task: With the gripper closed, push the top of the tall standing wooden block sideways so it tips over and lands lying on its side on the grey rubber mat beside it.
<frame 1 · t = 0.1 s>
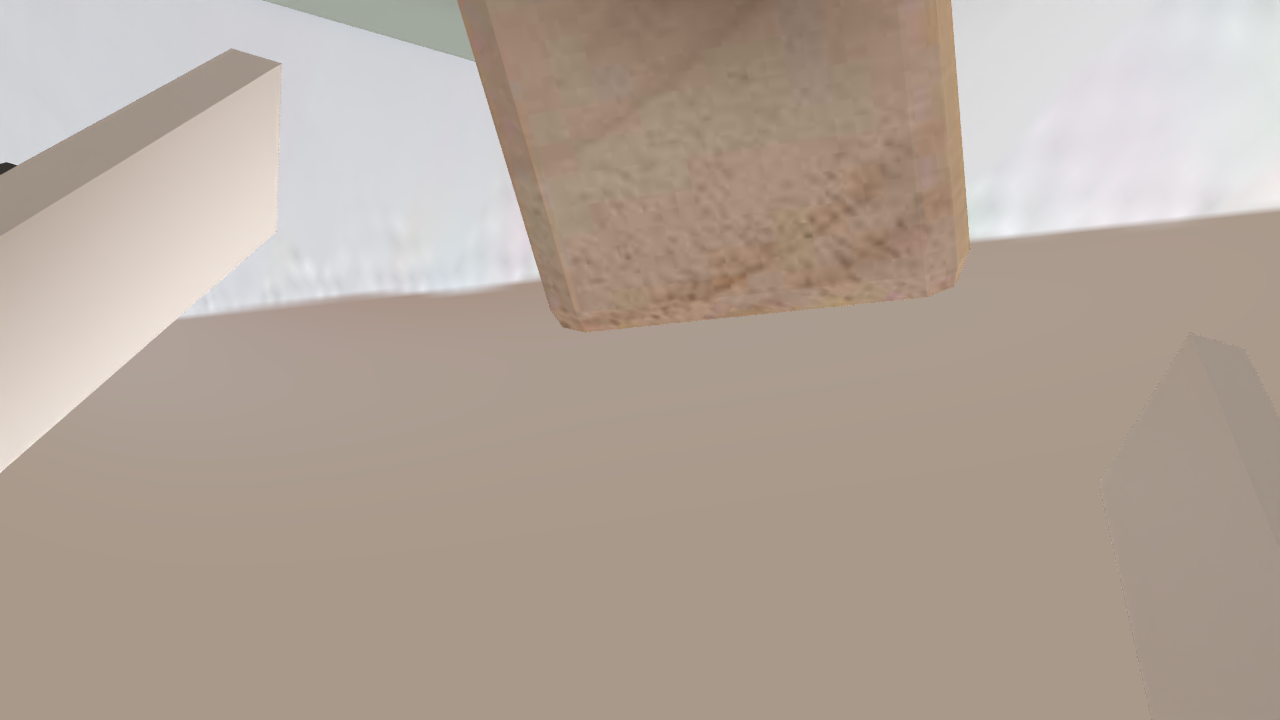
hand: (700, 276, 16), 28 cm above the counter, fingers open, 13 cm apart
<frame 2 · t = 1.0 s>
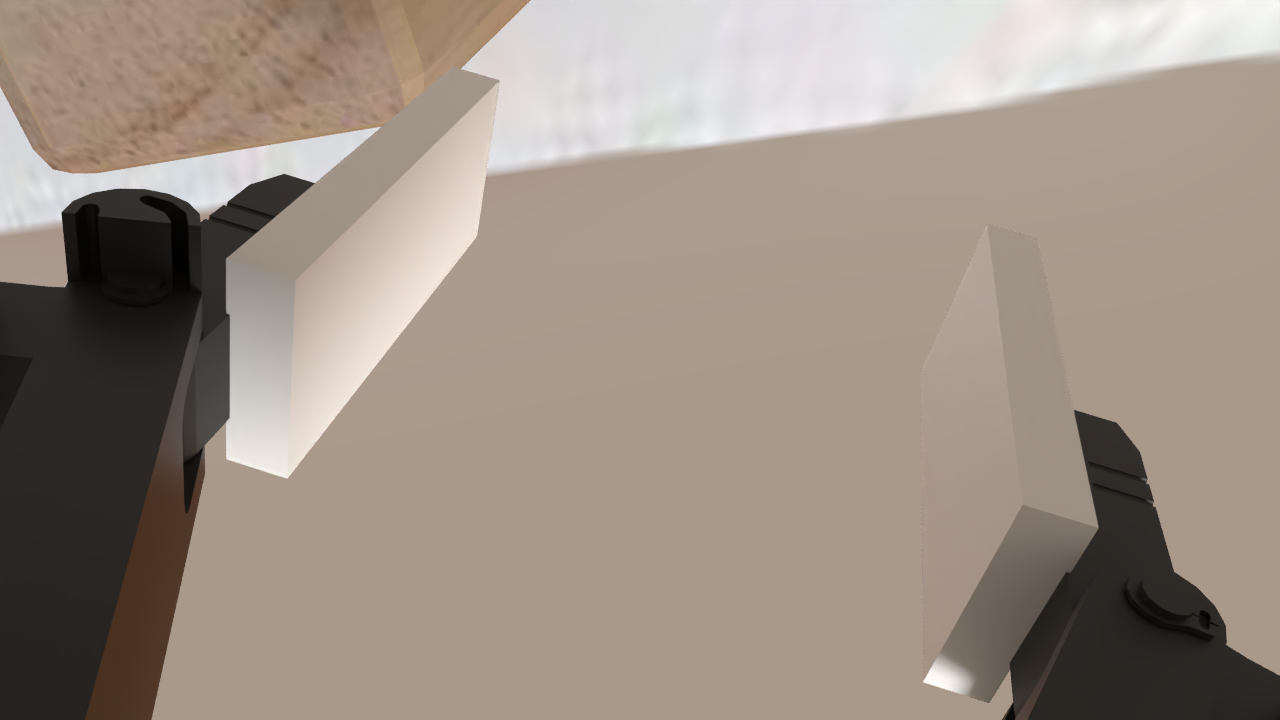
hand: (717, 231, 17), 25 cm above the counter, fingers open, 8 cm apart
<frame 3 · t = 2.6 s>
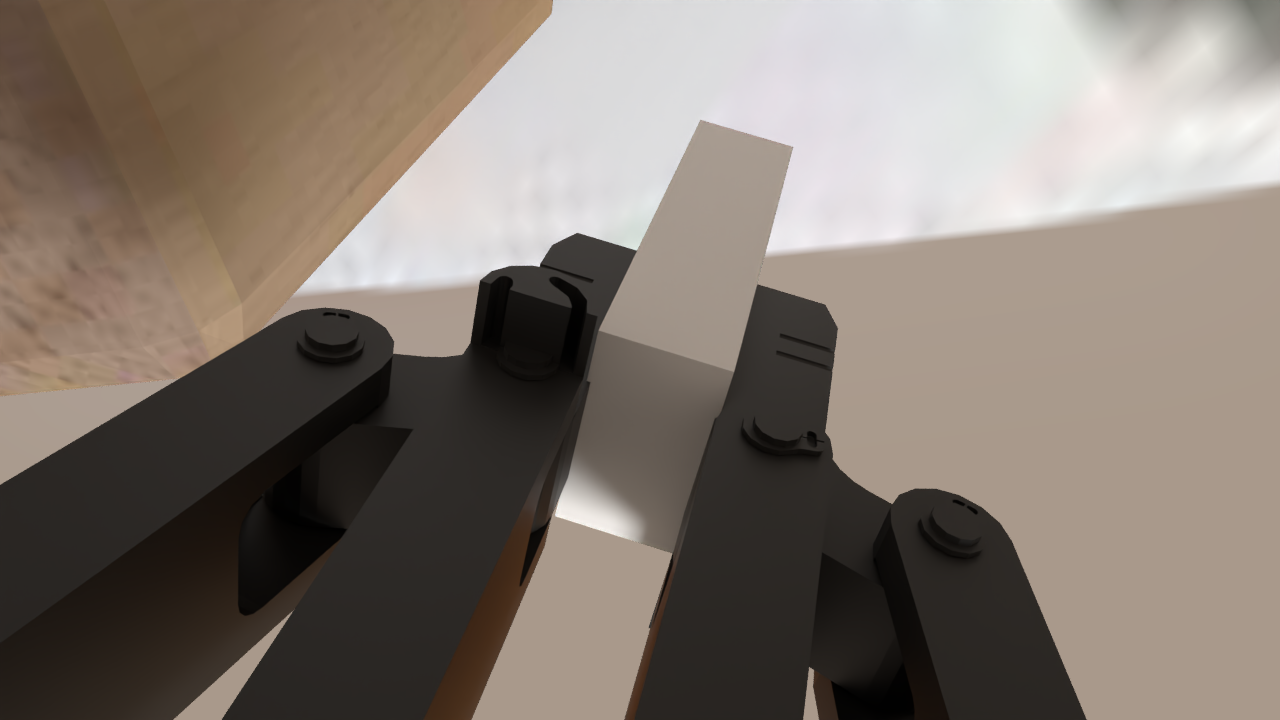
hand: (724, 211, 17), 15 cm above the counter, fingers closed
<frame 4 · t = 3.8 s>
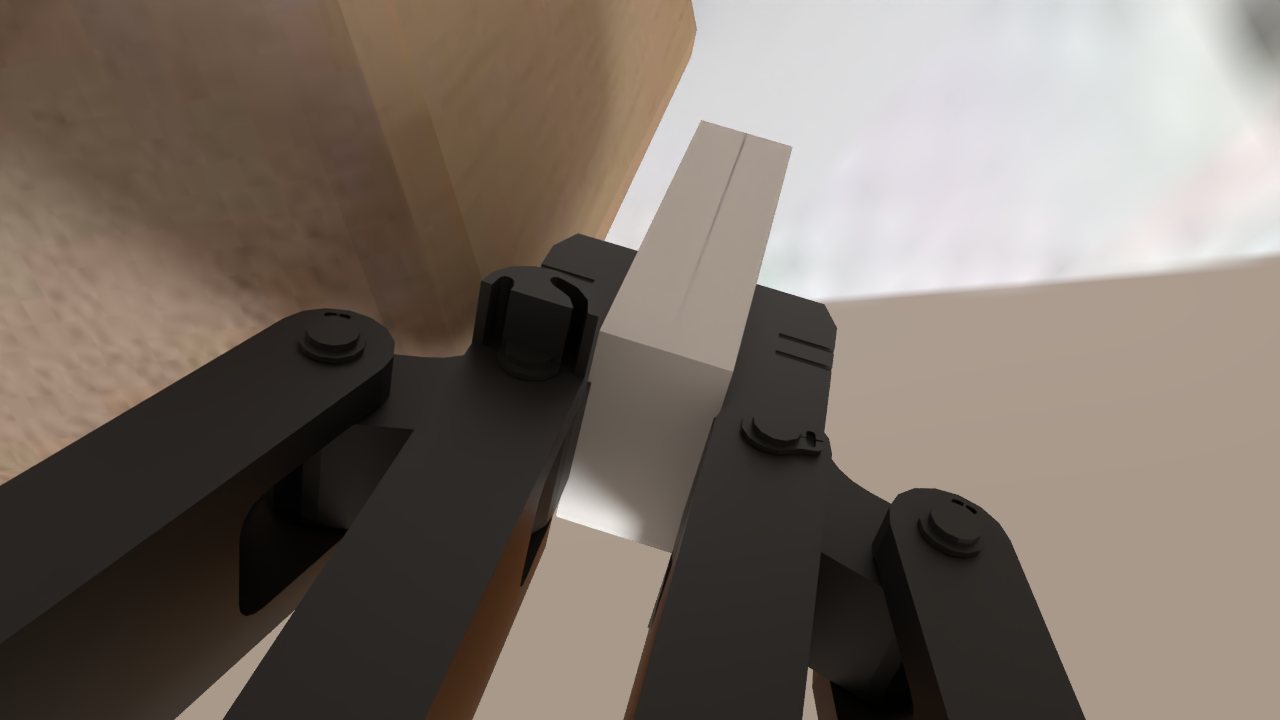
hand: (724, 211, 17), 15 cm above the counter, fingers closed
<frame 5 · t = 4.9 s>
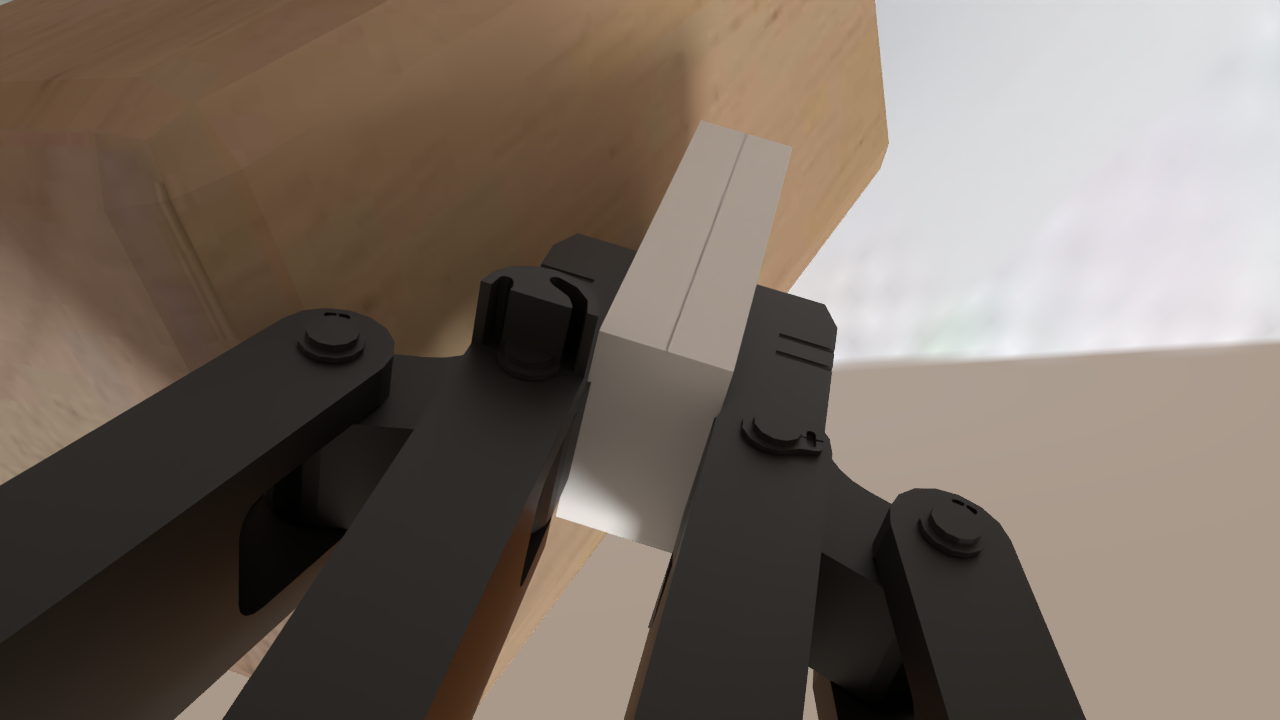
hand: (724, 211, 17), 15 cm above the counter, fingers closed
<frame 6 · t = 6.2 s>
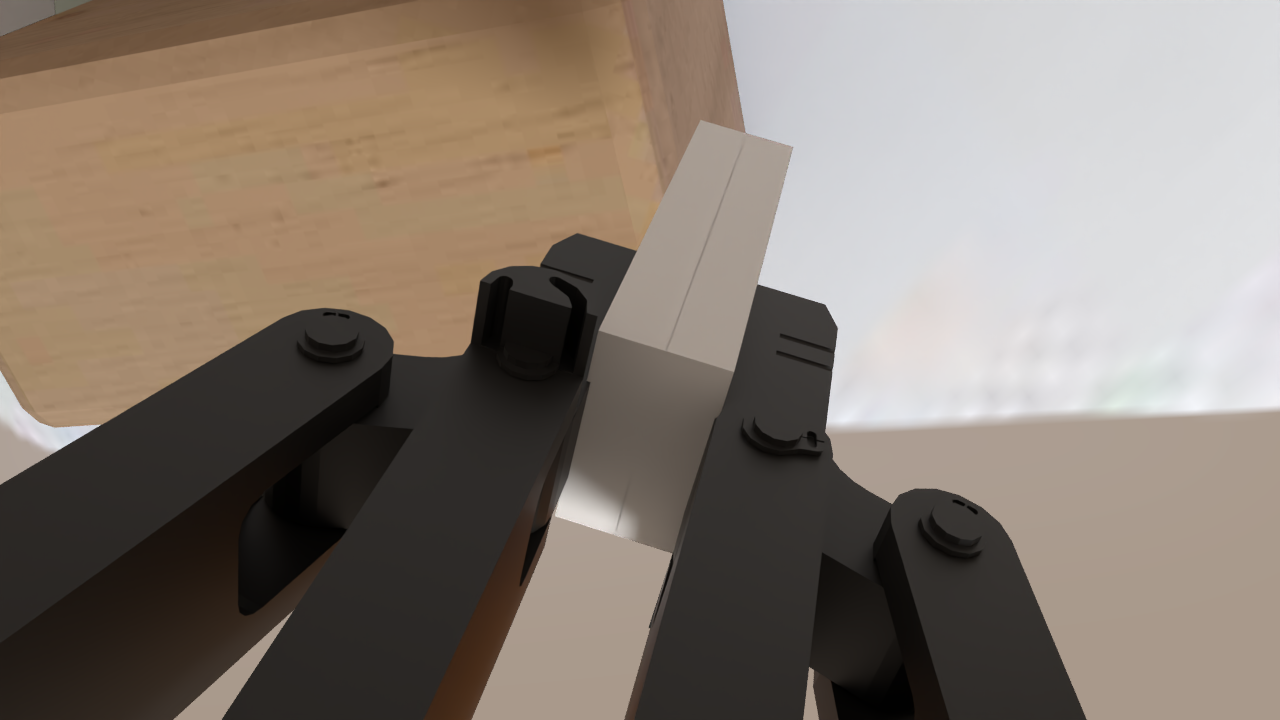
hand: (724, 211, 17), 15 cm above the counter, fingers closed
wooden block: (719, 115, 27), point 5 cm above the counter, touching mat
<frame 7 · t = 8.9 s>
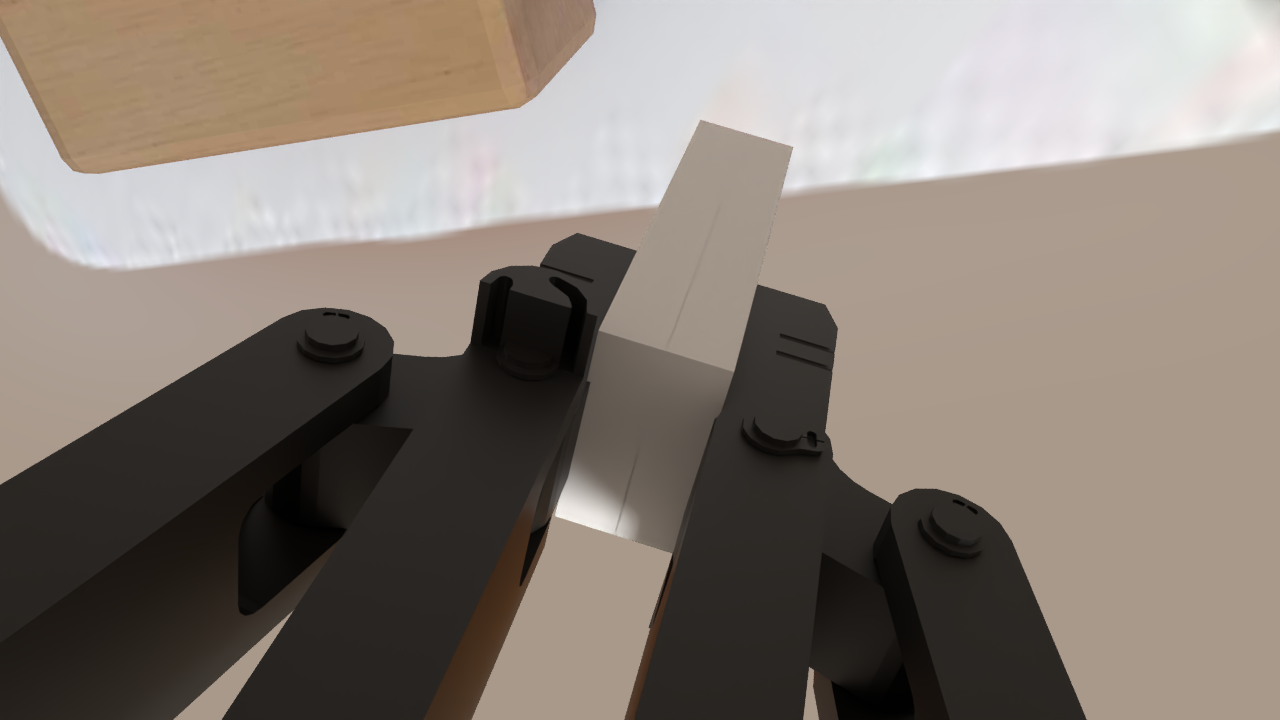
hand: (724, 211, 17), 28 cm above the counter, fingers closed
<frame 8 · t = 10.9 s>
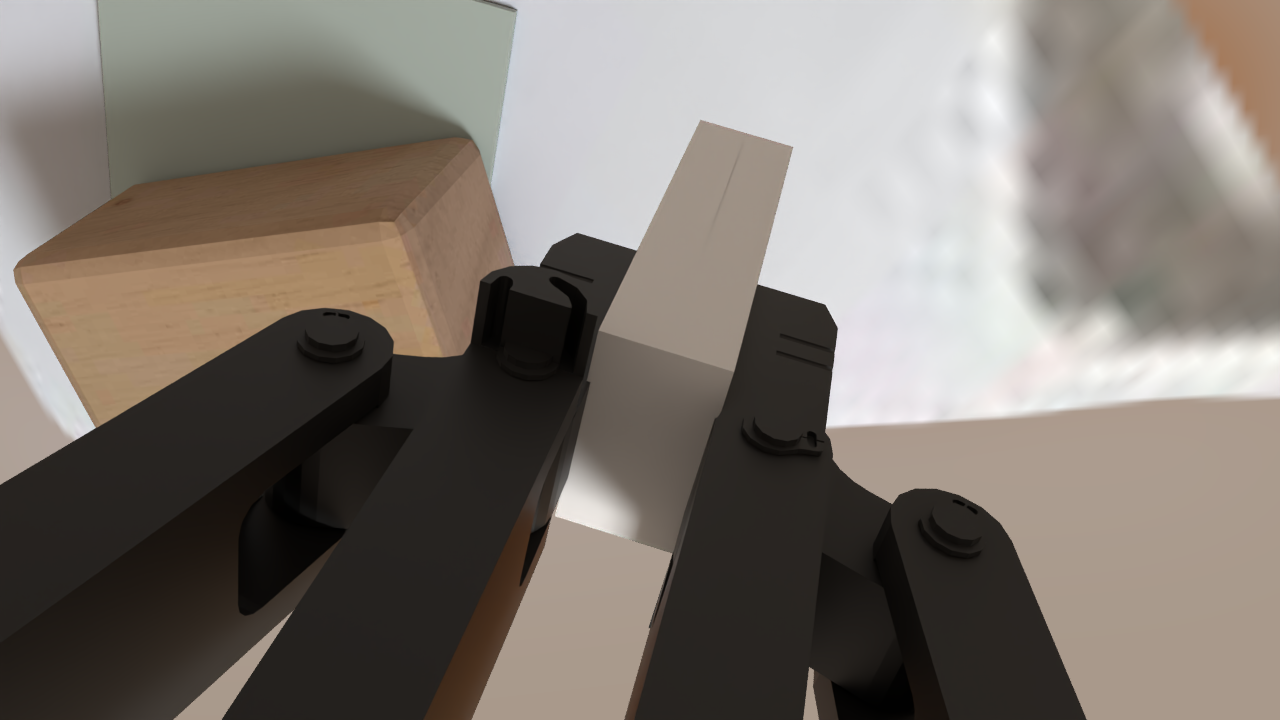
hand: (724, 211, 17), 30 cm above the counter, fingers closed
wooden block: (479, 270, 49), point 5 cm above the counter, touching mat
mat: (297, 115, 53), on the counter
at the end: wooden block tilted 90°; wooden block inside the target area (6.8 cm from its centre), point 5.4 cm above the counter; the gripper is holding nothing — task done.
